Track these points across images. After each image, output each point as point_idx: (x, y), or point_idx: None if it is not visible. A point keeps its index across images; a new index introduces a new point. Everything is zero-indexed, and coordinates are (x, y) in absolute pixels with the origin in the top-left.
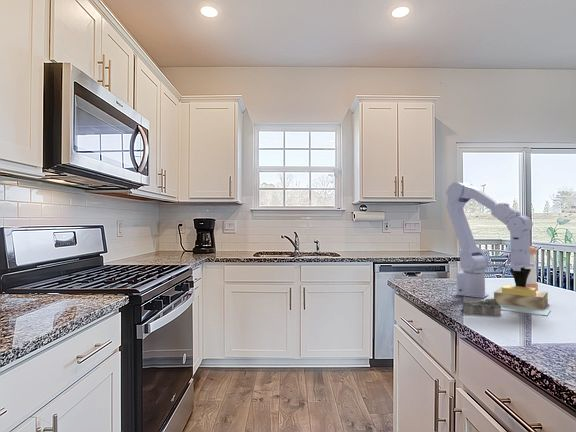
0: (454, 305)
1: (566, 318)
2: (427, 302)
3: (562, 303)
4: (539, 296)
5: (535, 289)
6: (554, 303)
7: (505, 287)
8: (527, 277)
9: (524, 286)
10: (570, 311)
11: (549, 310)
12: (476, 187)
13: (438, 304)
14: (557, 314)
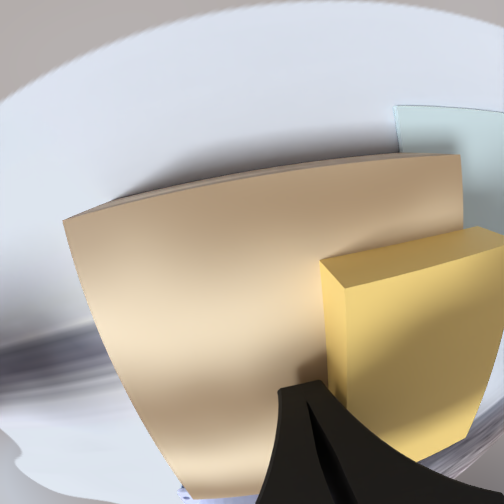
0: (481, 427)
1: (485, 37)
2: (464, 468)
3: (29, 136)
4: (440, 188)
5: (378, 273)
6: (66, 170)
7: (457, 431)
8: (267, 501)
9: (339, 402)
10: (299, 6)
11: (417, 110)
12: None
13: (480, 446)
14: (448, 68)
